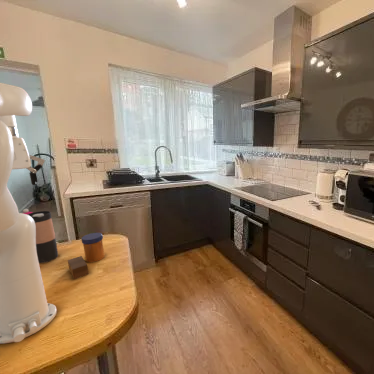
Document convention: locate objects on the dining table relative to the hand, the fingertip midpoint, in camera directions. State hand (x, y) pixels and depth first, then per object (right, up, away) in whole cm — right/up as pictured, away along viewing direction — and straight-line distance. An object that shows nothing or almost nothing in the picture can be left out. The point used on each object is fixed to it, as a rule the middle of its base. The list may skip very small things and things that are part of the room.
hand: (13, 186), depth 70 cm
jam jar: (+11, -31, +22) cm, 39 cm away
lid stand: (+12, -33, +12) cm, 37 cm away
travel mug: (-9, -31, +21) cm, 38 cm away
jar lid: (+11, -21, +20) cm, 31 cm away
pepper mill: (-20, -29, +27) cm, 44 cm away
